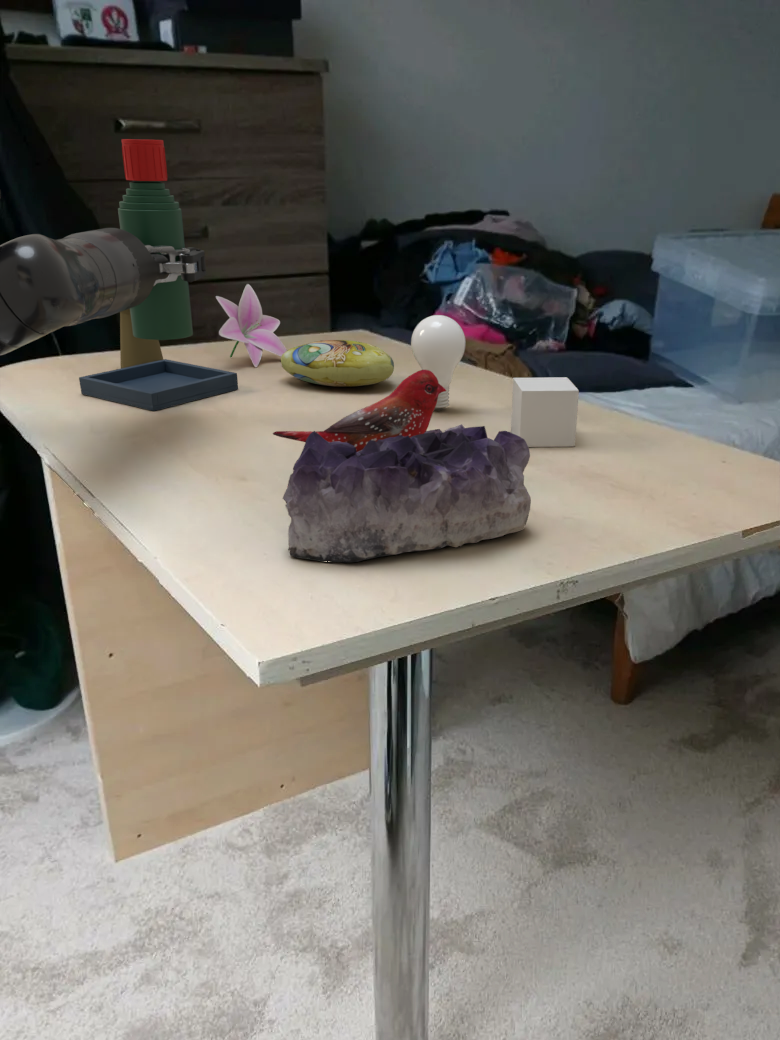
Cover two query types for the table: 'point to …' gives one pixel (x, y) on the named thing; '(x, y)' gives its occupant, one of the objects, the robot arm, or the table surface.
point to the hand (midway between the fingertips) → (162, 256)
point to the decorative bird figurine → (385, 414)
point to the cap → (144, 160)
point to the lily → (251, 326)
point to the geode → (405, 493)
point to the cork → (136, 345)
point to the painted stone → (338, 363)
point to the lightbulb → (439, 350)
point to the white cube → (545, 411)
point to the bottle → (160, 225)
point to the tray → (158, 384)
